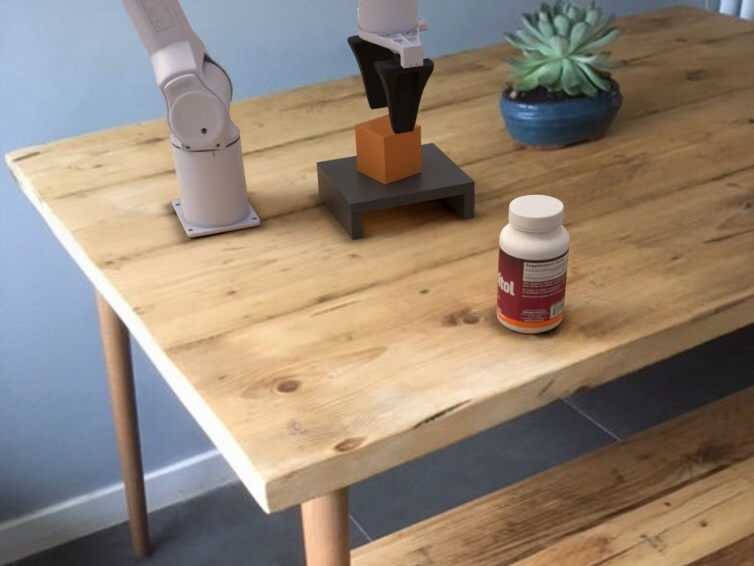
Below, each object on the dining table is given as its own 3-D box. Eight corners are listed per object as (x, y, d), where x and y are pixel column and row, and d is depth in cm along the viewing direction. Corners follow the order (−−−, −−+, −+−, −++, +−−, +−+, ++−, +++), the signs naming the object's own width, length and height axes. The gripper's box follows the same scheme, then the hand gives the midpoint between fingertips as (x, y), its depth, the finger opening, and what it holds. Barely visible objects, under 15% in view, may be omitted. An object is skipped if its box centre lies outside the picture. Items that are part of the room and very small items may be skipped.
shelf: (318, 196, 118) (316, 162, 115) (433, 176, 121) (433, 142, 119) (352, 240, 110) (350, 203, 107) (474, 217, 113) (475, 181, 110)
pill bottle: (490, 304, 98) (494, 192, 91) (555, 299, 99) (564, 187, 92) (502, 338, 94) (507, 223, 87) (569, 333, 94) (580, 217, 87)
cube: (385, 184, 110) (383, 137, 107) (357, 170, 113) (354, 124, 110) (421, 172, 113) (421, 125, 109) (393, 158, 116) (391, 113, 112)
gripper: (453, -11, 96) (452, 137, 105) (401, -45, 106) (404, 92, 115) (380, -2, 94) (385, 147, 103) (335, -38, 105) (343, 101, 113)
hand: (391, 119), depth 109 cm, fingers open, 7 cm apart
